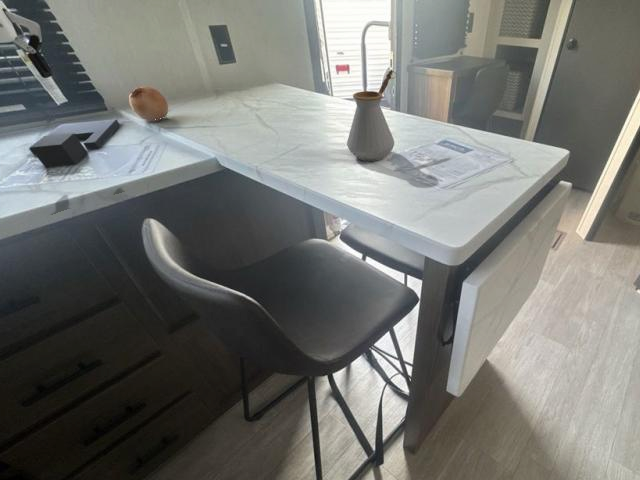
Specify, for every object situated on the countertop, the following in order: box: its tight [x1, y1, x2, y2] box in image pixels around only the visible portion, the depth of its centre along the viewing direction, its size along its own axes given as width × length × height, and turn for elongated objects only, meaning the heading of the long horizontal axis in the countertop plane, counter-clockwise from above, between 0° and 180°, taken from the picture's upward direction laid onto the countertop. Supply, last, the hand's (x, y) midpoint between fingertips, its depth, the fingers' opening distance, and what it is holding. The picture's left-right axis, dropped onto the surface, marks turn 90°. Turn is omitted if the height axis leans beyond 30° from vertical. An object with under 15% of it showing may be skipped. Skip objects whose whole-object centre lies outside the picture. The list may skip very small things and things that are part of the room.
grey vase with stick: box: [346, 69, 398, 162], centre depth 75 cm, size 21×12×15 cm, turn 160°
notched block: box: [28, 118, 120, 156], centre depth 86 cm, size 14×20×2 cm
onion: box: [128, 85, 169, 123], centre depth 94 cm, size 10×9×10 cm
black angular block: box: [29, 133, 88, 168], centre depth 74 cm, size 6×8×4 cm
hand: (20, 78), depth 65 cm, fingers open, 9 cm apart
